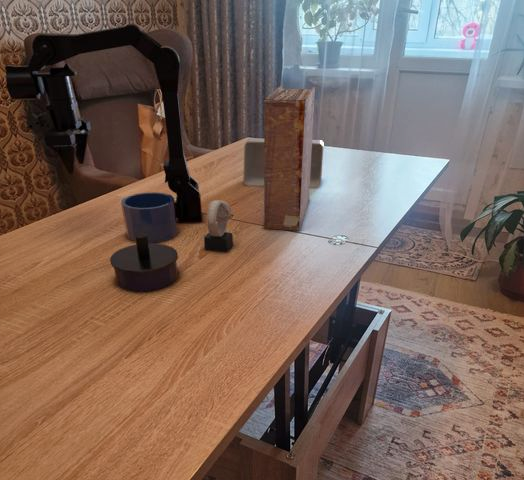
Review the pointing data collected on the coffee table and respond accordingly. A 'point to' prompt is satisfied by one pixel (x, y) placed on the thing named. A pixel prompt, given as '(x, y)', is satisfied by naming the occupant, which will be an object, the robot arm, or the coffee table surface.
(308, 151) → the book
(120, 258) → the lid
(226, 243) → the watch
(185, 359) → the coffee table surface
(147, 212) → the pot
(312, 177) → the white rounded tray
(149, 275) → the pan
